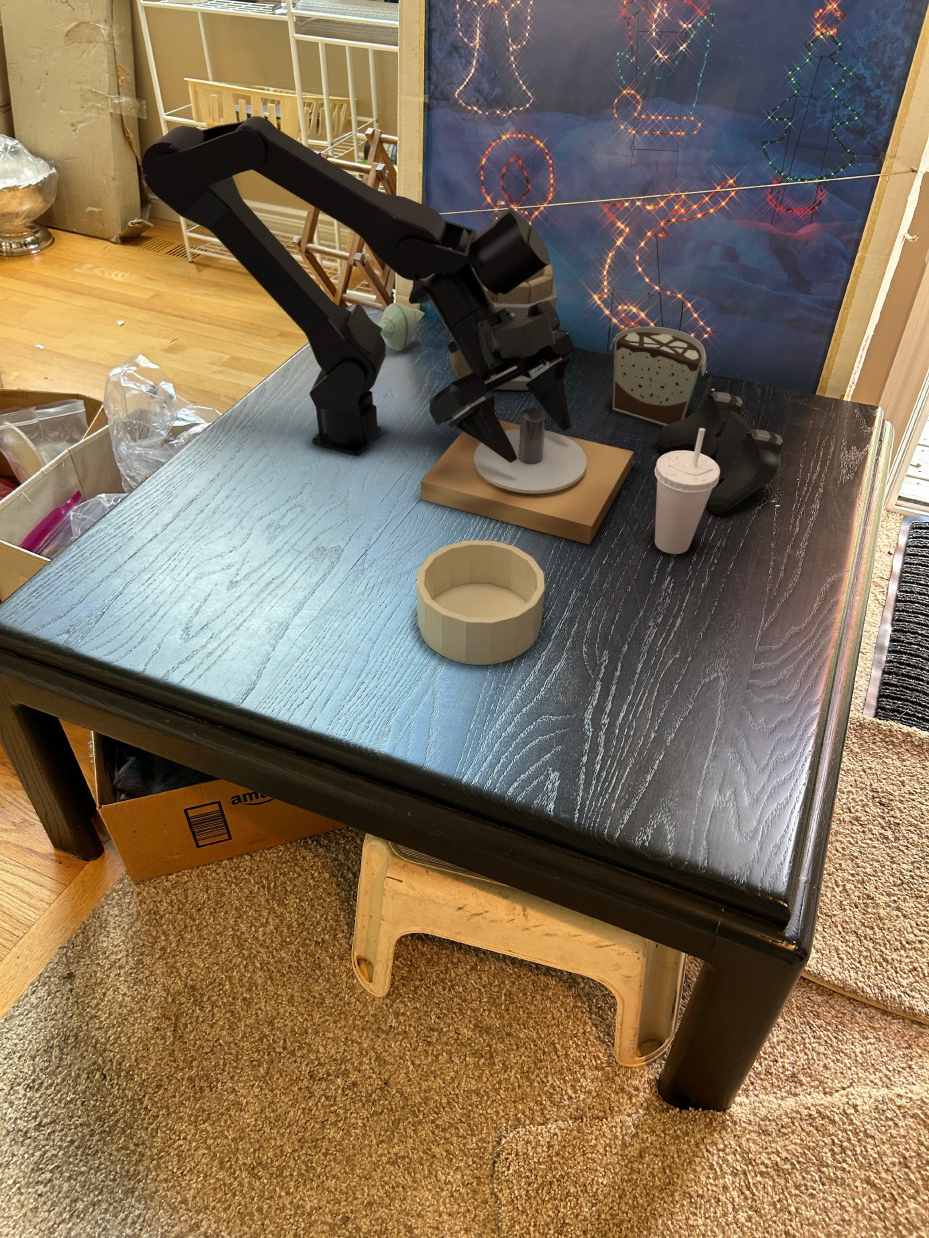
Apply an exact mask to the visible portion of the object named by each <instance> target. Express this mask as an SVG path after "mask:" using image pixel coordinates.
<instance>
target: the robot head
mask: <svg viewBox="0 0 929 1238" xmlns="http://www.w3.org/2000/svg"><path fill="white" fill-rule="evenodd" d="M424 315H426V313H425V312H424V311H421V310H419V309H417V308H411V307H409V306H406V305H404V304H402V303H400V302H392V303H390V304H389V305H388V306H386V307H385V309H384V311H383V313H382V317H381V320H380V321H379V322H377V323H376V325H378V326H380V327H381V328H382V332H381V336H382V337H383V339H384V340H386V342H387V344H388V345H389V347H390V348H391V349H392V350H393V351H398V352H402V351H404V349H407V347H408V346H409V345H410V343H411V340H412V338H413V334H414V330H415V328H416V326H417V325H418V324H419V322H420V321H421V320H422V318H424Z"/></svg>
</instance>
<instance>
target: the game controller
mask: <svg viewBox="0 0 929 1238" xmlns="http://www.w3.org/2000/svg"><path fill="white" fill-rule="evenodd" d="M707 396H708V399H707V400H705V401H704V402H703V403H702V404H701V406H700V407H699V408H698V409H697V410H696V411H695V412H693V413H691V414H690V415H688V416H687V417H685V419H683V420H680V421H677V422H673V423H670V424H667V425H665V426H663V425H662V427H661V429H660V431H659V432H658V434H657V441H656V443H657V444H656V445H657V448H658V450H659V451H660V452H662V453H663V454H666V453H669V452H672V451H682V450H684V451H692V450H695V447H696V442H697V437H698V433H699V429H700V428H704V429H705V432H704V437H703V441H702V446H701V450H700V453H701V454H703V455H706V456H708V457H709V458H711V459H712V460H714V461H715V462H716V463H717V465H718V466H719V469H720V474H719V480H720V481H722V482H721V483H719V484H718V485H716V486H715V487H714V488H712V491H711V493H710V496H709V498H708V501H707V503H706V506H707V507H708V509H709V510H710V511H711V512H712V513H714V514H716V515H719V514H723V513H725V512H727V511H729V510H731V509H732V508H734V507H736V506H737V505H738V504H739V503H741V502H742V501H744V500H745V499H746V498H748V497H749V496H751V495H752V494H753V493H754V492H756V491H758V490H759V489H760V488H761V487H763V486H766V485H768V484H769V483H771V481H772V480H774V478H775V477H776V476H777V474H778V472H779V470H780V467H781V462H782V461H781V454H780V453H781V450H782V448H783V445H782V443H783V439H782V437H781V435H780V434H777V433H775V432H773V431H770V430H769V431H766V430H764V429H754V428H753V427H752V425H750V424H749V423H748V422H747V421H746V420H745V419H744V418H743V417H742V416H741V412H742V410H743V406H742V405H743V400H742V399H741V397H738V396H736V395H733V394H731V393H727V392H719V391H713V392H712V393H711V394H707Z"/></svg>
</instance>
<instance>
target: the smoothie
mask: <svg viewBox="0 0 929 1238" xmlns="http://www.w3.org/2000/svg"><path fill="white" fill-rule="evenodd" d="M704 432H705V429H704V428H700V429H699V433H698V437H697V442H696V447H695V449H694V451H692V450H687V451H684V450H682V451H672V452H669V453H666V454H665V453H663V454H662V455H660V456H659V458H658V459H657V460H656V465H655V468H654V476H655V477H656V480H657V481H656V498H655V499H656V503H655V506H656V507H655V522H654V523H655V524H654V525H655V526H654V527H655V528H654V529H655V530H654V544H655V547H656V548H657V549H658V550H660V551H661V552H663V553H666V554H670V555H679V554H683V553H685V552H687V551H688V550H689V548H690V546H691V544H692V541H693V538H694V537H695V533H696V531H697V529H698V526H699V523H700V520H701V518H702V516H703V513H704V511H705V508H706V506H707V501H708V498H709V496H710V493H711V491H712V490H713V489H714V488H716V487H717V485H718V484H719V480H720V479H719V474H720V469H719V466H718V465H717V463H716V462H715V461H714V460H712V459H711V458H709V457H708V456H706V455H703V454H701V453H700V450H701V446H702V441H703V437H704Z"/></svg>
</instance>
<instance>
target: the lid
mask: <svg viewBox="0 0 929 1238" xmlns="http://www.w3.org/2000/svg"><path fill="white" fill-rule="evenodd" d="M546 413H547V412H546V411H545V410H543V409H539V408H526V409H524V410H522V411H521V412H520V417H519V418H520V419H519V420H520V421H519V425H520V429H513V430H507V431H505V433H506V435H507V437H508V439H509V441H510V442H511V444H512V446H513V449H514V451H515V453H516V456H517V460H515V461H514V462H512V463H510V462H508V461H507V460H505V459H504V458H502V457H501V456H500V455H498V454H497V453H495V452H494V451H493V450H491V449H490V448H488V447H487V446H486V445H484V444H483V443H480V444H479V446H478V447H477V449H476V451H475V454H474V464H475V467H476V469H477V471H478V472H479V474H480V475H481V476H482V477H483V478H484V479H486V480H487V481H488V482H490V483H492V484H494V485H496V486H498V487H500V488H503V489H506V490H510V491H514V492H520V493H530V494H538V493H549V492H554V491H558V490H561V489H564V488H567V487H569V486H571V485H573V484H574V483H576V482H577V481H578V480H579V479H580V478H581V477H582V476H583V475H584V473H585V470H586V466H587V459H586V455H585V453H584V451H583V450H582V448H581V447H580V446H579V445H578V444H576V443H575V442H574V441H572V440H571V439H569V438H567V437H565V436H566V435H565V436H563V435H564V434H561V435H560V433H557V432H554V431H551V430H546V424H547V414H546Z"/></svg>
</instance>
